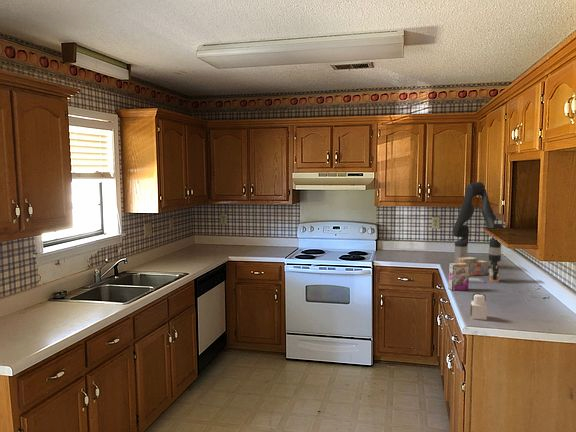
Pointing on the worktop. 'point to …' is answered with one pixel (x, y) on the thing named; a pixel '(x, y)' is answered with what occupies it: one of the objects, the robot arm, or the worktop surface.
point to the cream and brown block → (492, 276)
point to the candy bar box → (458, 276)
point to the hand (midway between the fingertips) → (493, 278)
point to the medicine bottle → (478, 307)
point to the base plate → (476, 280)
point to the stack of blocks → (475, 265)
